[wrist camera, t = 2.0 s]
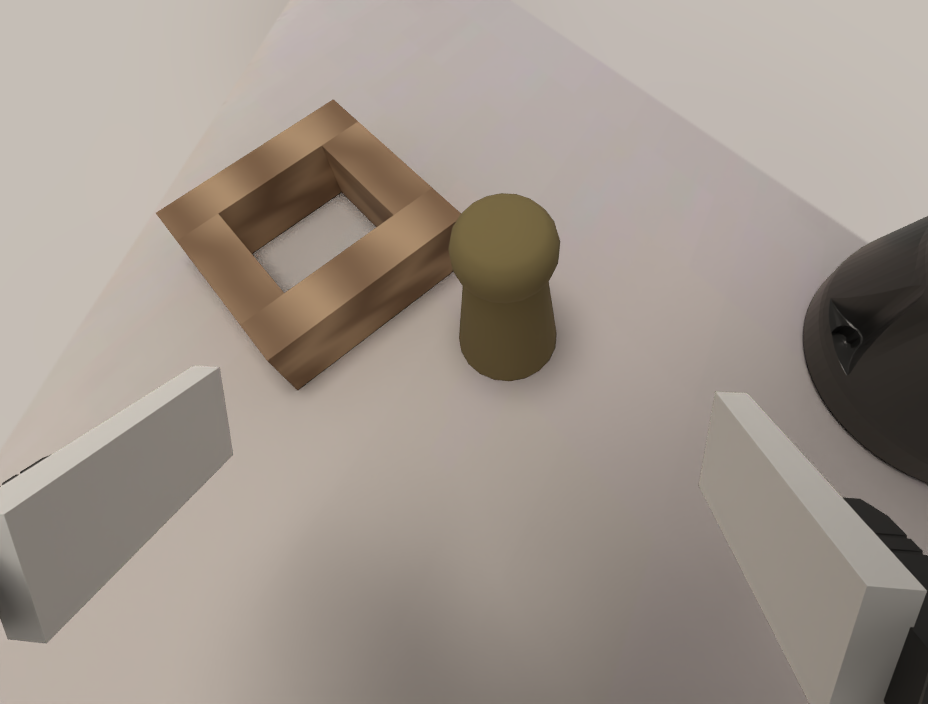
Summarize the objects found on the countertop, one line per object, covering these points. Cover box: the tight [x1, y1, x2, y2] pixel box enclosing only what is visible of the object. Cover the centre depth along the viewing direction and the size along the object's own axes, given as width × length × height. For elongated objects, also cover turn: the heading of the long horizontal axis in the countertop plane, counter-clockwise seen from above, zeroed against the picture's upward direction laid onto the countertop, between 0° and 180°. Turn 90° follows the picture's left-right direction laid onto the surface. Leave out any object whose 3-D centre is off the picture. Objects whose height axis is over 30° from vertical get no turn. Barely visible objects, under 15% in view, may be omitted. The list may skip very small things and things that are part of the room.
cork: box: [448, 193, 560, 381], centre depth 29 cm, size 6×6×11 cm
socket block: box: [156, 100, 461, 390], centre depth 36 cm, size 14×14×4 cm
